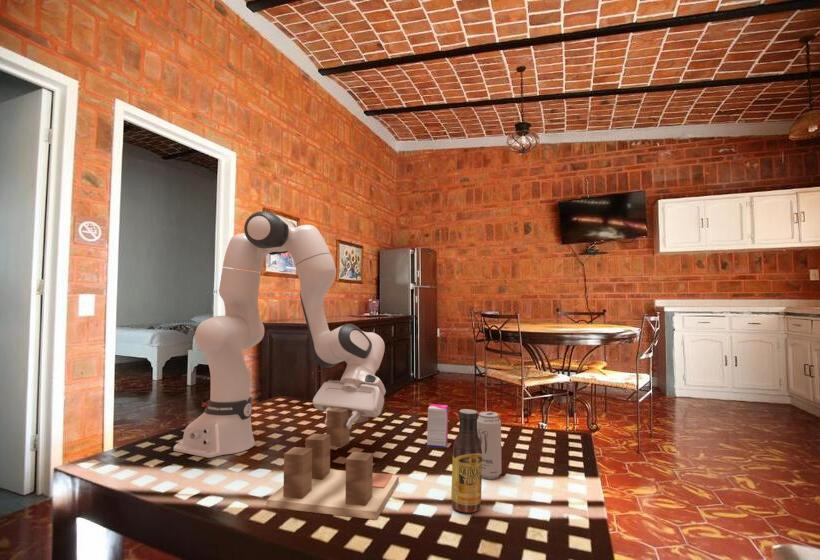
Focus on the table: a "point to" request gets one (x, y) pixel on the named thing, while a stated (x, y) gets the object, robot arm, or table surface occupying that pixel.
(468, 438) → the sauce bottle
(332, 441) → the walnut peg
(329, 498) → the board
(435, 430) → the supplement box
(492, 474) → the energy drink can
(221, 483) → the table surface
